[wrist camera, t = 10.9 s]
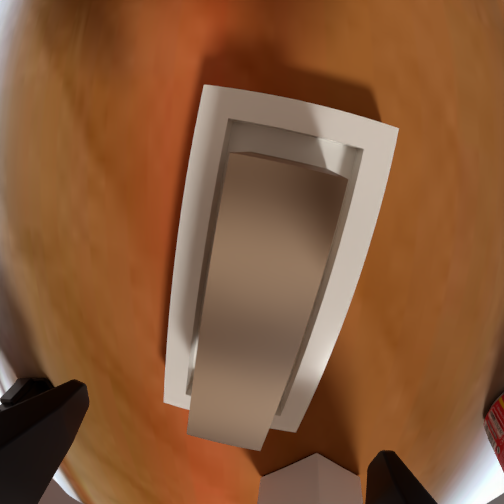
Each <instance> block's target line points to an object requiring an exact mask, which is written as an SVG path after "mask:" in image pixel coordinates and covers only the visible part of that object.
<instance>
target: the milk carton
mask: <svg viewBox="0 0 504 504" xmlns="http://www.w3.org/2000/svg"><path fill="white" fill-rule="evenodd" d="M257 504H363V499H362V491H361V483H360V477H359V476H357V475H355V474H353V473H351V472H350V471H348V470H346V469H344V468H342V467H341V466H339V465H337V464H335V463H334V462H332V461H330V460H328V459H327V458H325V457H323V456H322V455H320V454H318V453H315V454H313V455H311V456H309V457H307V458H305V459H303V460H300V461H298V462H296V463H294V464H292V465H289V466H287V467H285V468H283V469H280V470H278V471H275V472H273V473H271V474H268V475H266V476H263V477H261V480H260V487H259V495H258V502H257Z"/></svg>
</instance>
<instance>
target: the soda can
mask: <svg viewBox="0 0 504 504" xmlns="http://www.w3.org/2000/svg"><path fill="white" fill-rule="evenodd" d="M484 428H485V431H486V434H487V436H488V439H489V441H490V443H491V446H492V448H493V450H494V452H495V454H496V456H497V459H498V461H499V463H500V465H501V467H502V469H503V472H504V392H503V393H502V394H501V395H500V396H499V397H498V398H497V399H496V400H495V401H494V403H493V404H492V406H491V408H490V410H489V412H488V413H487V415H486V417H485V420H484Z"/></svg>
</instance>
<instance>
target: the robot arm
mask: <svg viewBox="0 0 504 504" xmlns="http://www.w3.org/2000/svg"><path fill="white" fill-rule="evenodd" d="M0 401H1V403H2V404H1V405H0V504H38V502H39V501H40V499H41V497H42V495H43V493H44V492H45V490H46V488H47V486H48V485H49V483H50V481H51V479H52V478H53V476H54V474H55V472H56V471H57V469H58V467H59V466H60V464H61V462H62V460H63V459H64V457H65V455H66V454H67V452H68V450H69V448H70V447H71V445H72V443H73V441H74V439H75V436H76V434H77V432H78V429H79V427H80V425H81V423H82V420H83V418H84V416H85V414H86V412H87V410H88V407H89V397H88V391H87V386H86V384H85V383H83V382H80V381H78V380H75V379H74V380H70V381H68V382H66V383H64V384H62V385H59V386H57V387H55V388H53V387H52V385H51V384H50V382H49V381H48V380H47V379H45V378H36V379H32V378H20V379H17V380H16V382H15V383H14V385H13V386H12V387H11V388H10V389H9V390H8V391H7V392H6V393H5V394H4V395H3V396H2V397H1V398H0ZM365 504H437V502H436V501H435V500H434V499H433V498H432V496H431V495H430V494H429V493H428V492H427V490H426V489H425V488H424V487H423V486H422V484H421V483H420V482H419V481H418V480H417V478H416V477H415V476H414V475H413V474H412V472H411V471H410V470H409V469H408V468H407V466H406V465H405V464H404V463H403V462H402V460H401V459H400V458H399V457H398V456H397V454H396V453H395V452H394V451H391V450H382V451H380V452H379V453H378V454H377V456H376V457H375V458H374V459H373V461H372V462H371V463H370V464H369V466H368V470H367V488H366V502H365Z"/></svg>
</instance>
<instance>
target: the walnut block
mask: <svg viewBox="0 0 504 504" xmlns="http://www.w3.org/2000/svg"><path fill="white" fill-rule="evenodd" d="M347 183H348V179H347V178H345V177H343V176H341V175H339V174H337V173H335V172H333V171H331V170H329V169H326V168H322V167H318V166H314V165H310V164H306V163H301V162H297V161H293V160H288V159H284V158H279V157H275V156H270V155H265V154H260V153H255V152H230V154H229V159H228V165H227V170H226V175H225V180H224V186H223V191H222V197H221V202H220V208H219V213H218V219H217V225H216V231H215V236H214V242H213V248H212V254H211V260H210V267H209V273H208V279H207V286H206V292H205V299H204V305H203V312H202V319H201V326H200V333H199V340H198V347H197V354H196V362H195V369H194V377H193V385H192V393H191V401H190V410H189V418H188V427H187V434H188V435H191V436H195V437H199V438H203V439H206V440H210V441H215V442H219V443H223V444H227V445H232V446H237V447H241V448H246V449H252V450H257V451H260V450H261V448H262V445H263V443H264V440H265V438H266V436H267V433H268V431H269V428H270V426H271V423H272V421H273V418H274V415H275V413H276V410H277V408H278V405H279V402H280V400H281V397H282V394H283V392H284V389H285V386H286V384H287V381H288V378H289V375H290V373H291V370H292V367H293V364H294V361H295V358H296V356H297V353H298V350H299V347H300V344H301V341H302V338H303V335H304V332H305V329H306V326H307V323H308V320H309V317H310V314H311V311H312V308H313V304H314V301H315V298H316V295H317V292H318V288H319V285H320V282H321V278H322V275H323V272H324V268H325V265H326V261H327V258H328V254H329V251H330V247H331V244H332V240H333V237H334V233H335V229H336V226H337V222H338V218H339V214H340V210H341V207H342V203H343V199H344V195H345V191H346V187H347Z"/></svg>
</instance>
